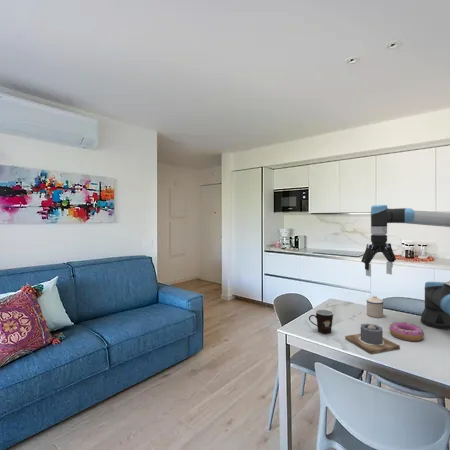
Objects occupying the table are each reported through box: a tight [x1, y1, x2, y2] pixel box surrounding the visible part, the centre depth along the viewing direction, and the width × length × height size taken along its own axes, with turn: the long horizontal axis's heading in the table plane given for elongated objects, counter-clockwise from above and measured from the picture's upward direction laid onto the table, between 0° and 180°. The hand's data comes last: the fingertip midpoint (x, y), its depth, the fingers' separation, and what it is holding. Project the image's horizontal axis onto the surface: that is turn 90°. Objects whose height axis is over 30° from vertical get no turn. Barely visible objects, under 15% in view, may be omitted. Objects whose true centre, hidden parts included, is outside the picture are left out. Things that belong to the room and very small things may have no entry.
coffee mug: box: [308, 309, 334, 335], centre depth 148 cm, size 12×9×10 cm
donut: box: [389, 321, 424, 342], centre depth 141 cm, size 14×14×5 cm
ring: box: [360, 323, 384, 345], centre depth 133 cm, size 9×9×6 cm
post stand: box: [344, 324, 401, 355], centre depth 133 cm, size 16×16×9 cm
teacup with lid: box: [365, 295, 385, 319], centre depth 171 cm, size 12×9×12 cm
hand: (378, 275), depth 149 cm, fingers open, 13 cm apart
